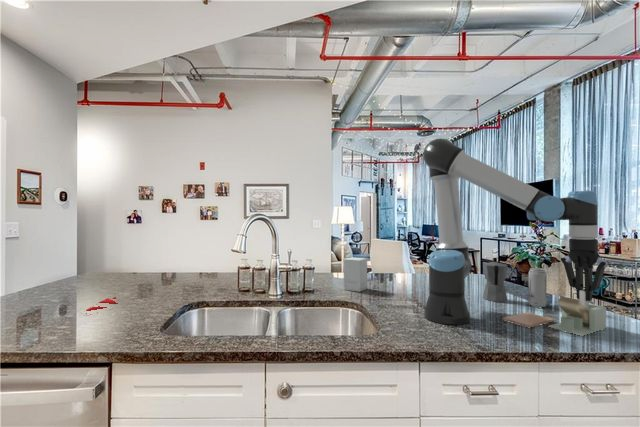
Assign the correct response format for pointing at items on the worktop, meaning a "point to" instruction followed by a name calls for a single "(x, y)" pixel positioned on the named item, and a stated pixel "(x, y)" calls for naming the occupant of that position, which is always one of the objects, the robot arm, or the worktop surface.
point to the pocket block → (576, 323)
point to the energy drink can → (537, 287)
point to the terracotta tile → (528, 319)
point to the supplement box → (355, 274)
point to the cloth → (103, 302)
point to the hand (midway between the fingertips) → (584, 310)
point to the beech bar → (574, 308)
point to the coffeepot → (495, 281)
